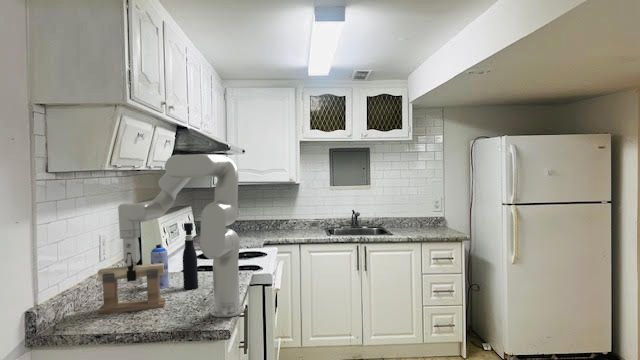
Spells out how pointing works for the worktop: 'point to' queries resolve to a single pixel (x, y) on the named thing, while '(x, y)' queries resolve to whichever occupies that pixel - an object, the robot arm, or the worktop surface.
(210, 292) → the worktop surface
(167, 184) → the robot arm
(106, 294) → the walnut rack
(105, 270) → the maple bar
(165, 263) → the aerosol can
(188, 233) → the black tall bottle
